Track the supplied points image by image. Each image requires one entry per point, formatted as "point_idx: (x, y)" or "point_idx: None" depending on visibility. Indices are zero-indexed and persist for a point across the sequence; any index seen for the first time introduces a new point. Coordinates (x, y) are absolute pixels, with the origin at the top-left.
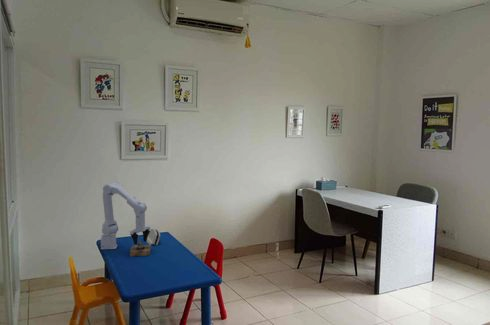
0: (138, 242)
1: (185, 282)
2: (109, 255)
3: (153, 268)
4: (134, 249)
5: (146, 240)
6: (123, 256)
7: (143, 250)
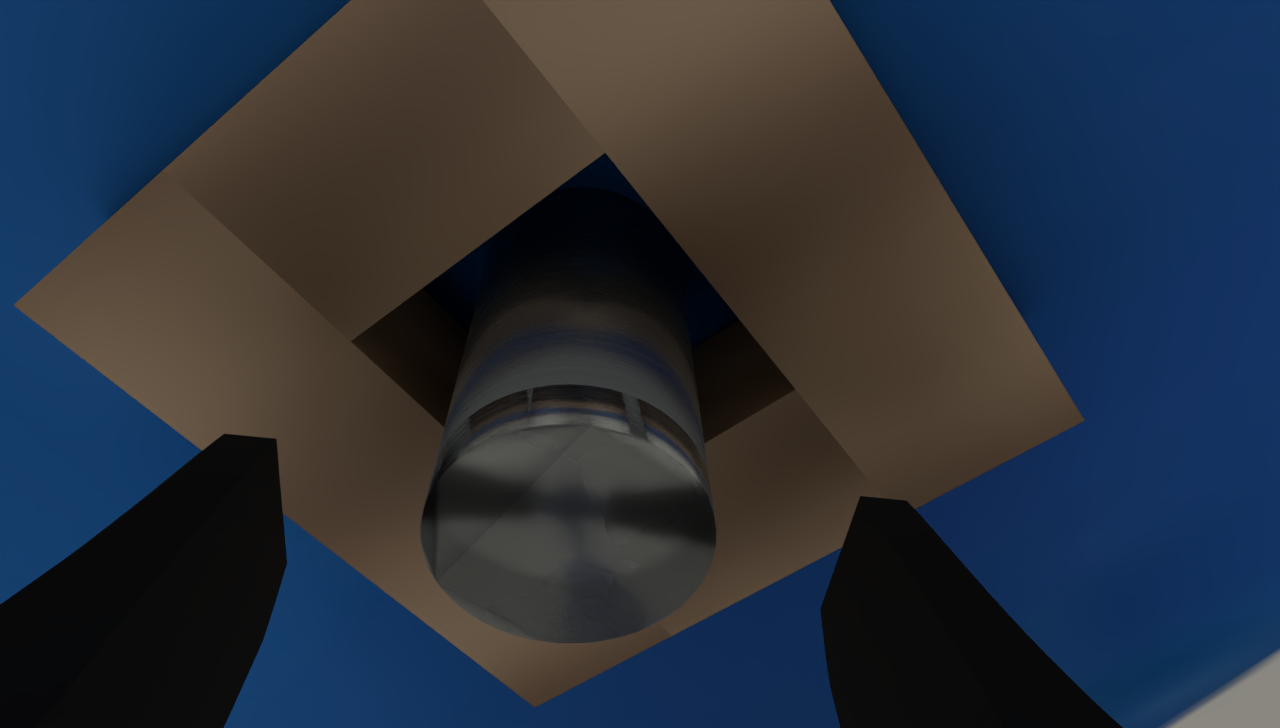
0: (646, 586)
1: None
2: (1113, 717)
3: None
4: (805, 443)
5: (203, 462)
6: (1086, 454)
7: (744, 65)
